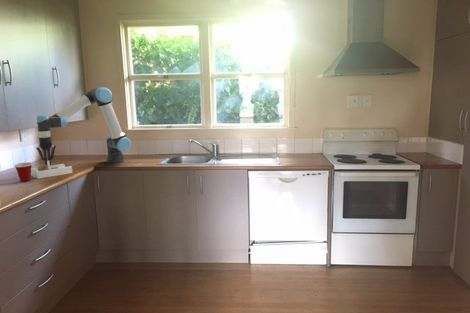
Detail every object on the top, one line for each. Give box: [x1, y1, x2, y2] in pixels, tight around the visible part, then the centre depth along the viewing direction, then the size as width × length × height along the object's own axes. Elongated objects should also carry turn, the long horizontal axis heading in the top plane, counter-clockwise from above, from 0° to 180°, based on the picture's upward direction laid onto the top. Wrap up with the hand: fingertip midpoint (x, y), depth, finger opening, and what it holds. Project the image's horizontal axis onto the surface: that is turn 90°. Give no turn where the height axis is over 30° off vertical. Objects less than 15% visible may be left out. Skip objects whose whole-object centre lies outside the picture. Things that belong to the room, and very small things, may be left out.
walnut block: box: [37, 165, 49, 171], centre depth 259 cm, size 6×6×4 cm
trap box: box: [31, 163, 73, 179], centre depth 266 cm, size 24×16×5 cm, turn 134°
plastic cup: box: [14, 162, 33, 183], centre depth 244 cm, size 11×11×12 cm
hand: (48, 169), depth 262 cm, fingers closed
